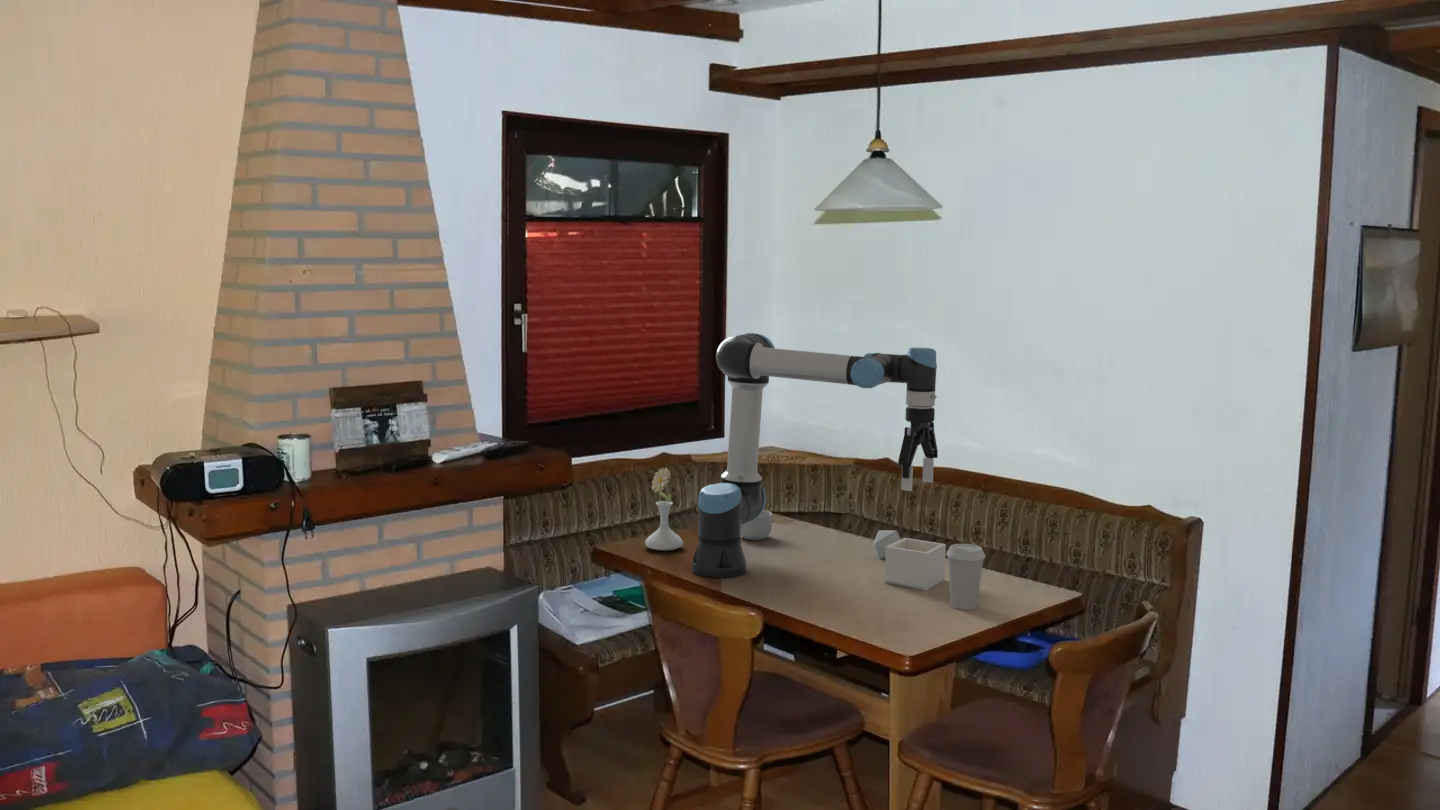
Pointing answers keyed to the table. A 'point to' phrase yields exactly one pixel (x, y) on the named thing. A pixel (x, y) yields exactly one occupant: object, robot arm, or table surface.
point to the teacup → (757, 527)
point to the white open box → (915, 564)
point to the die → (884, 541)
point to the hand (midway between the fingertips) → (917, 486)
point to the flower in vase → (663, 516)
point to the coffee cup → (965, 575)
